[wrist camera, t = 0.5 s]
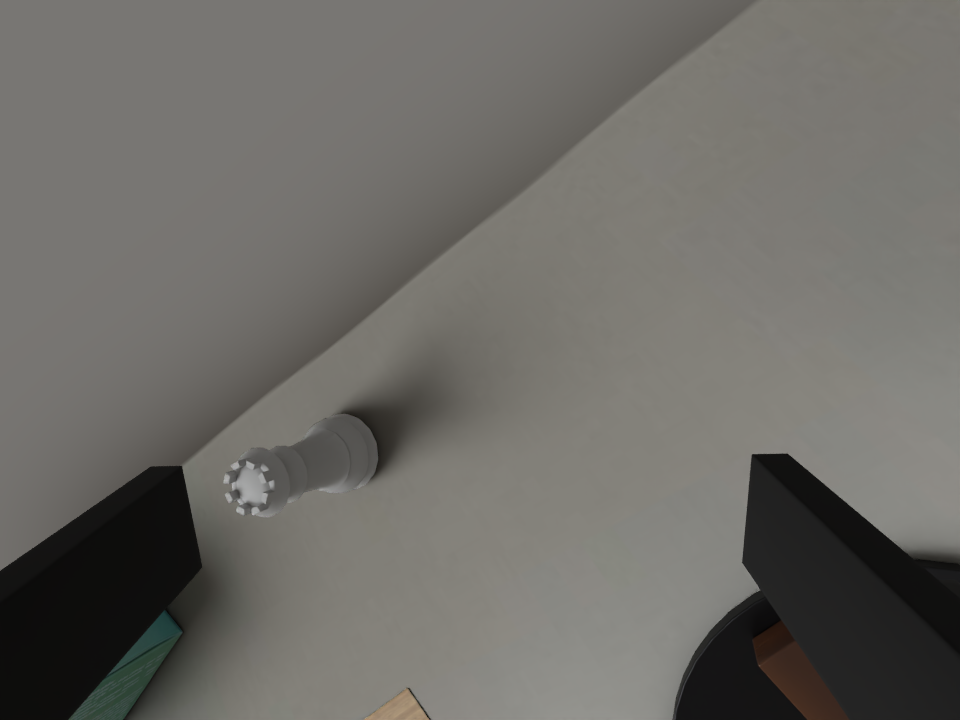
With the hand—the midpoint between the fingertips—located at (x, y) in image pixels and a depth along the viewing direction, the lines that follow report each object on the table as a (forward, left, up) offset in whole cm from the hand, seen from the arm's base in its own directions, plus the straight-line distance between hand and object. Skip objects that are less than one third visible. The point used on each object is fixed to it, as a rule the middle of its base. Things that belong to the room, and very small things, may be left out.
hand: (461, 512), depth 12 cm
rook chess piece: (+13, -5, -15) cm, 20 cm away
